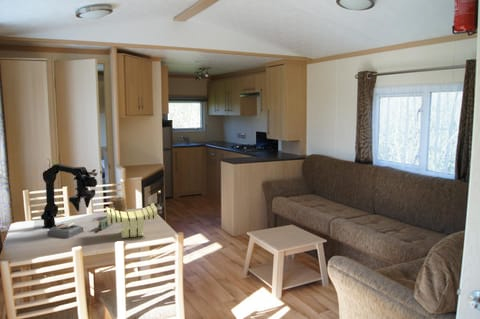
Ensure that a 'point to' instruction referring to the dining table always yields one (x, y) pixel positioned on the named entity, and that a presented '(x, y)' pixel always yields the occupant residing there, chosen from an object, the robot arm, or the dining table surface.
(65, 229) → the frame
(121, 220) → the slatted curved stool
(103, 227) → the handheld radio
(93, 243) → the dining table surface
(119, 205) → the stone cup
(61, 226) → the breaker switch
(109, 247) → the dining table surface
